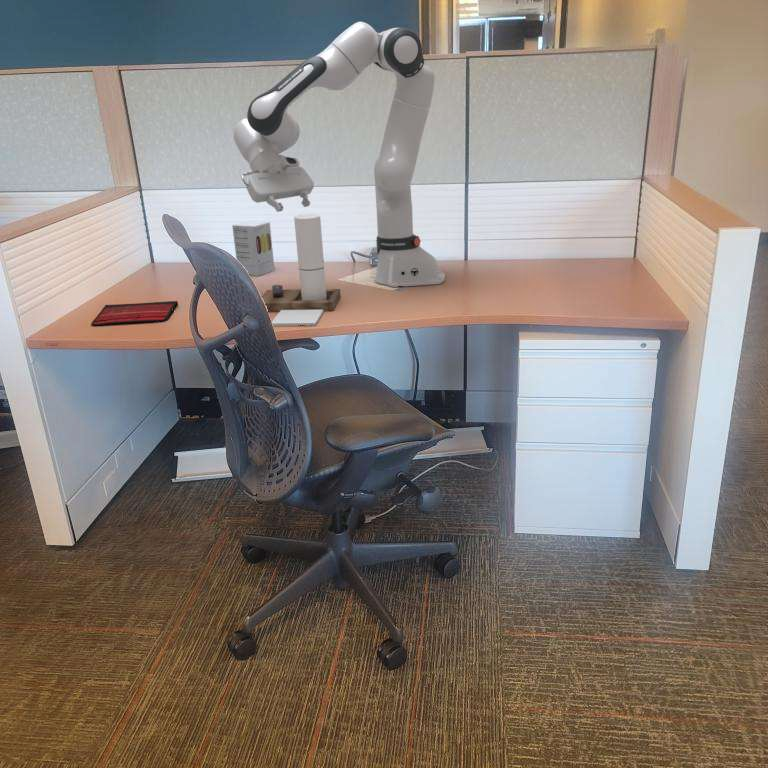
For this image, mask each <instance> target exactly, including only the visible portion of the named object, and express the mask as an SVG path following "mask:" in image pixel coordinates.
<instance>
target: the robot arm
mask: <svg viewBox="0 0 768 768" xmlns="http://www.w3.org/2000/svg"><path fill="white" fill-rule="evenodd" d="M372 64H375V65H376V66H377V67H379V68H380V69H382V70H385V71H388V72H391V73H394V75H395V79H396V85H395V86H396V87H395V88H396V89H395V90H394V95H393V99H392V102H391V105H390V109H389V114H388V117H387V121H386V126H385V130H384V134H383V139H382V144H381V147H380V152H379V155H378V157H377V158H376V161H375V163H374V168H373V171H374V172H373V173H374V174H373V175H374V187H375V189H374V190H375V191H374V192H375V205H376V207H375V208H376V221H377V223H376V227H377V236H376V239H375V240H376V242H375V245H376V253H377V266H376V272H375V277H374V281H375V282H376V283H378V284H381V285H385V286H389V287H393V288H398V286H403V287H414V286H428V285H440V284H442V283H443V282H444V281H445V280H446V275H445V273H444V272H443V271H441V270H439V267H438V263H437V260H436V258H435V257H434V256H433V255H432V254H430V253H429V252H428V251H426V250H425V249H424V248H422V247H421V239H420V237H419V235H416V234H414V227H413V226H414V225H413V223H414V222H413V221H414V220H413V203H412V190H411V186H412V185H411V184H412V180H413V178H414V173H415V169H416V166H417V160H418V156H419V151H420V147H421V142H422V138H423V133H424V130H425V126H426V122H427V119H428V115H429V111H430V109H431V105H432V99H433V96H434V95H433V94H434V89H435V88H434V87H435V78H436V77H435V73H434V71H433V70H432V68H431V67H429V66H428V65H427V64H425V59H424V53H423V47H422V42H421V39H420V37H419V36H418V34H417V33H416V32H414V31H413V30H412V29H410V28H408V27H393V28H390V29H386V30H382V31H378V32H377V31H376V30H375V29H374V28H373V27H372V26H371V25H370V24H369V23H366V22H363V21H357V22H355V23H353V24H352V25H350V26H348V27H347V29H345V30H344V31H342V32H341V33H340V34H339V35H338V36H337V37H336V38H335V39H334V40H333V41H332V42H331V43H330V44H329V45H328V46H327V47H326V48H324V50H322V51H321V52H320V53H317V55H315V56H310V57H309V58H307V59H305V60H304V61H303V62H302V63H299V65H298V66H296V67H295V68H294V69H293V70H292V71H291V72H289V73H288V74H287V75H286V76H285V77H284V78H282V79H280V81H279V82H278V83H277V84H275V85H274V86H273V87H271V88H270V89H269V90H267V91H265V92H263V93H261V94H258V96H256V97H255V98H254V99H253V100H252V101H251V102H250V104H249V106H248V108H247V112H246V116H247V117H245V118H243V119H241V120H239V121H238V123H236V125H235V127H234V129H233V140H234V143H235V144H236V147H237V149H238V151H239V153H240V155H242V156H241V157H243V159H244V160H245V161H246V162H247V163H248V164H249V168H250V170H251V171H249V172H248V171H245V172H244V173H243V174H242V175H241V180H242V182H243V184H244V185H245V188H246V189H247V192H248V194H249V197H250V198H251V200H252V201H253V202H255V203H256V204H257V203H262V202H263V203H265V202H266V203H267V204H268V205H269V206H271V207H273V208H274V209H275V211H276V213H277V212H279V213H280V212H282V211H283V210H284V205H282V202H278V200H282V199H283V200H284V199H288V198H293V197H300V198H302V201H301V202H300V203H301V205H302V206H303V207H304V208H307V207H310V205H311V200H309V195H310V194H311V193H312V191H313V190H314V187H315V183H314V181H313V180H312V178H311V176H310V175H309V173H308V172H307V171H306V169H304V168H303V167H302V166H301V165H300V164H301V163H300V161H299V160H298V158H295V157H290V156H285V155H282V154H281V153H283V152H285V151H287V150H288V149H290V148H291V147H292V146H294V145H295V144H296V142H297V141H298V140H299V137H300V132H301V131H300V126H299V123H298V122H297V121H296V120H295V118H294V117H293V116H292V115H291V114H290V113H289V111H288V108H289V107H290V106H291V105H293V103H295V102H296V101H297V100H298V99H299V98H300V97H302V96H303V95H304V94H305V93H306V92H308V91H309V90H311V89H312V88H319V87H320V88H324V89H327V90H330V91H343V90H344V89H346V88H348V87H349V86H350V85H351V84H352V83H353V82H354V81H355V80H356V79H357V78H358V77H359V76H360V75H361V74H362V73H363V71H365V69H366V68H368V67H369V66H370V65H372Z"/></svg>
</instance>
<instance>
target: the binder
mask: <svg viewBox="0 0 768 768" xmlns="http://www.w3.org/2000/svg"><path fill="white" fill-rule="evenodd" d="M178 302H179V301H178V300H173V301H172V300H169V301H156V302H141V303H139V302H138V303H121V304H119V303H118V304H105V305H104V307H103V308H102V309H101V311H99V313H98V314H97V316H95V317H94V319H93V320H92V321H91V323H90V324H91V327H104V326H105V327H106V326H117V325H118V326H119V325H130V324H131V325H132V324H145V323H147V324H148V323H155V324H157V323H159V322H160V323H165V322H167V321H169V320H170V318H171V317H172V316H171V315H173V314H174V313H175V312H174V310H175V307H179V303H178ZM160 323H159V324H160Z"/></svg>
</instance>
